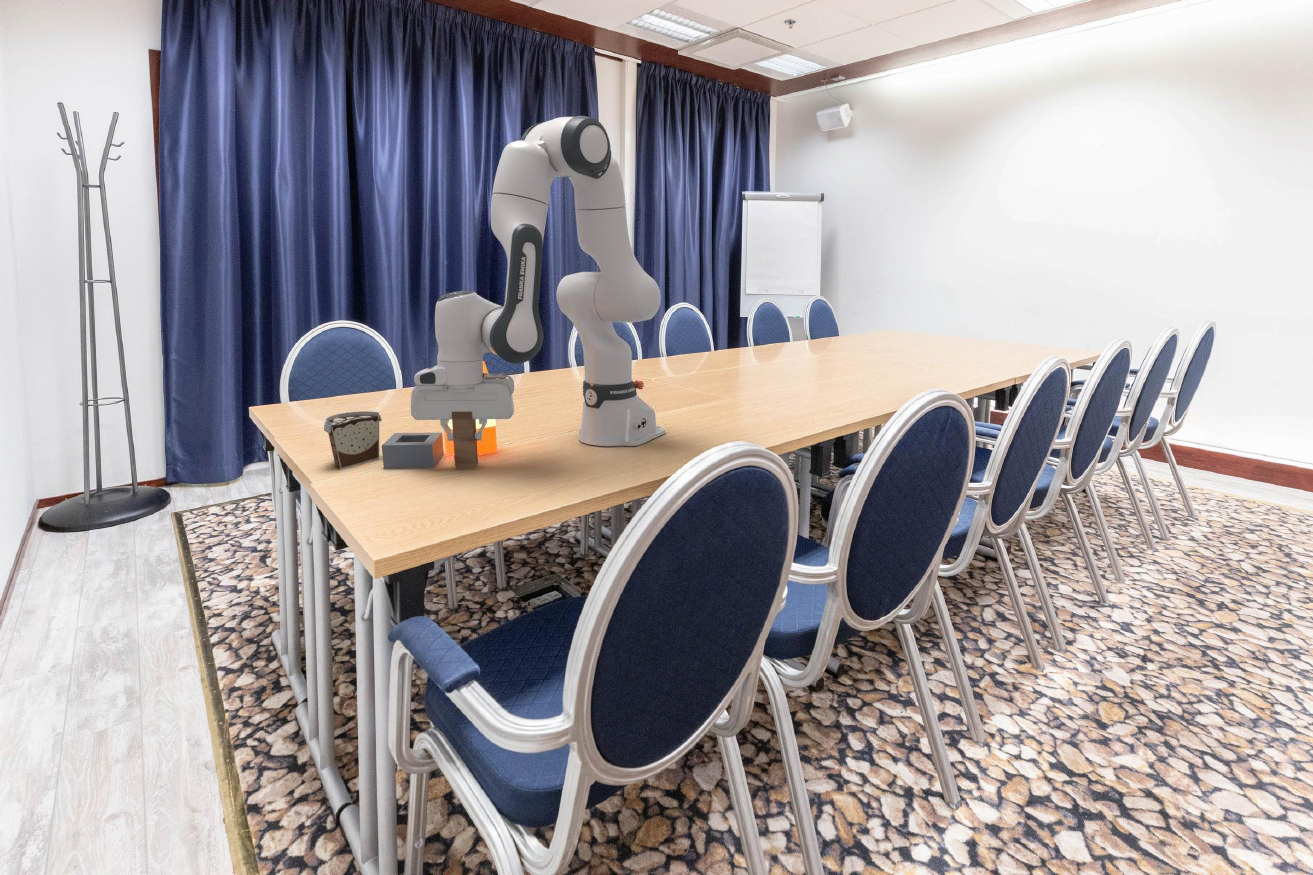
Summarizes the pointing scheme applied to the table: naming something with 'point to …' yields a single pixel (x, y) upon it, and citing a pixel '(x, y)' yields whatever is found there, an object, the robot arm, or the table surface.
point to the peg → (464, 440)
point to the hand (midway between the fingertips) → (465, 439)
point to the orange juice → (489, 435)
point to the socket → (412, 450)
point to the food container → (353, 437)
